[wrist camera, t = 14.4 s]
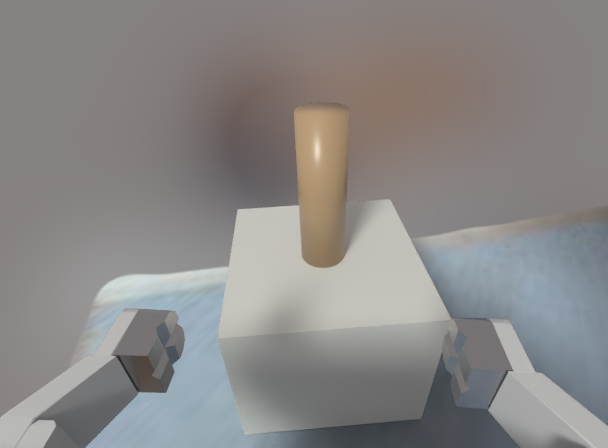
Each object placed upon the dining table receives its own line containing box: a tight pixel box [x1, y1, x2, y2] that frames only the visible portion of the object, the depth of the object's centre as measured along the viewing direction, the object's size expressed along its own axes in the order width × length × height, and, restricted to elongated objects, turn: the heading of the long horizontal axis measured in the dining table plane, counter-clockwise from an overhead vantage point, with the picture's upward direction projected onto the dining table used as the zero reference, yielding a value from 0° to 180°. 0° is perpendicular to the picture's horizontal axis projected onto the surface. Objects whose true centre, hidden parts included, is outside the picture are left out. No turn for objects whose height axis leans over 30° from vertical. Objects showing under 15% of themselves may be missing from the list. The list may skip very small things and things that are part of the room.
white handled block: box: [218, 102, 451, 435], centre depth 25 cm, size 13×13×21 cm
